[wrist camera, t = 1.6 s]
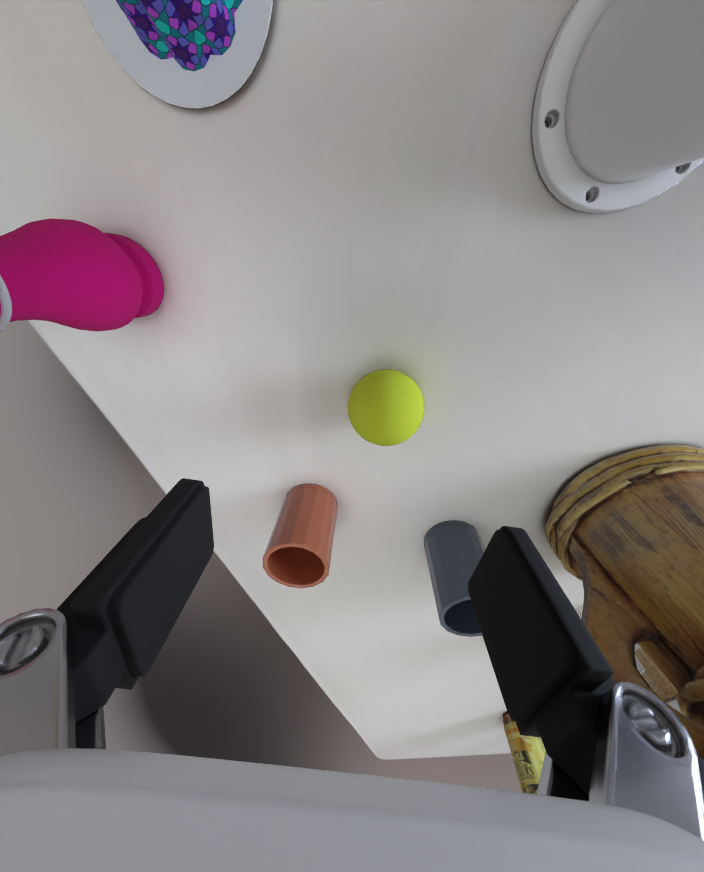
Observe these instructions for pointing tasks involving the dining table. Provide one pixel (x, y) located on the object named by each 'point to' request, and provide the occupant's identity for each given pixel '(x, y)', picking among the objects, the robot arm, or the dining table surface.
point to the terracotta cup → (302, 538)
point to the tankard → (641, 565)
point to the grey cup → (454, 574)
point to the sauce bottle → (525, 755)
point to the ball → (386, 407)
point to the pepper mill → (75, 276)
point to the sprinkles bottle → (656, 678)
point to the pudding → (184, 44)
